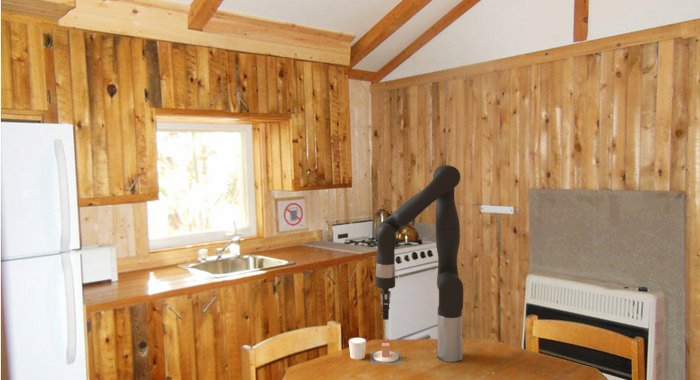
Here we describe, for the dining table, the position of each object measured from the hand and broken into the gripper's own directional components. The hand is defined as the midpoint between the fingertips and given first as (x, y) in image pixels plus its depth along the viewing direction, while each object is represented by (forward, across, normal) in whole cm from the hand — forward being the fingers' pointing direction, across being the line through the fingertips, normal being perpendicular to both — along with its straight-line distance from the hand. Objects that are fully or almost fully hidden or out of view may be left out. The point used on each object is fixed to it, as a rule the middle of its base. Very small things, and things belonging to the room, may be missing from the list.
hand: (385, 315), depth 196 cm
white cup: (+18, +1, +11) cm, 21 cm away
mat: (+17, 0, 0) cm, 17 cm away
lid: (+17, 0, 0) cm, 17 cm away
